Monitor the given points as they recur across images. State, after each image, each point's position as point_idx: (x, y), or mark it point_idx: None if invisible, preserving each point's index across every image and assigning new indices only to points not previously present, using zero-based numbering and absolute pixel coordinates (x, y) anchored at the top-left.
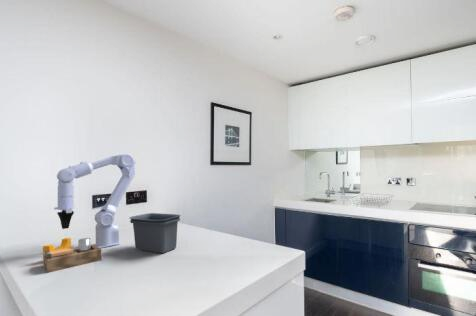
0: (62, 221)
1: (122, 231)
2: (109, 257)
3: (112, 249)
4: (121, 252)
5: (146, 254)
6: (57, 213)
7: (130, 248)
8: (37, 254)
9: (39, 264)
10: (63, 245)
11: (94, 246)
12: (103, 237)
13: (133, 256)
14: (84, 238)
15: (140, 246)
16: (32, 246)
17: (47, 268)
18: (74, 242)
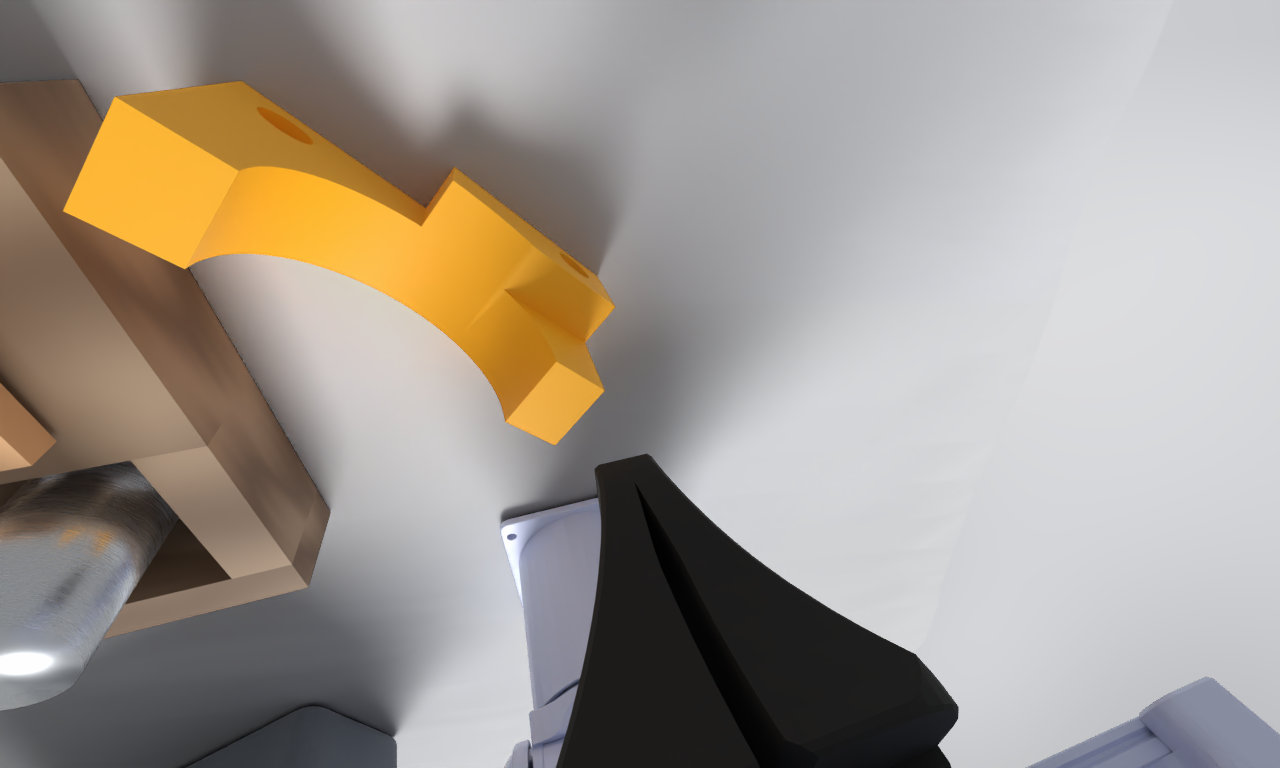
0: (600, 586)
1: (854, 592)
2: None
3: (413, 596)
4: (272, 649)
5: (111, 763)
6: (861, 703)
7: (362, 675)
8: (728, 48)
9: (171, 30)
10: (503, 342)
11: (205, 600)
12: (526, 620)
13: (87, 718)
14: (56, 658)
15: (246, 757)
16: (1108, 25)
17: None
18: (866, 369)
